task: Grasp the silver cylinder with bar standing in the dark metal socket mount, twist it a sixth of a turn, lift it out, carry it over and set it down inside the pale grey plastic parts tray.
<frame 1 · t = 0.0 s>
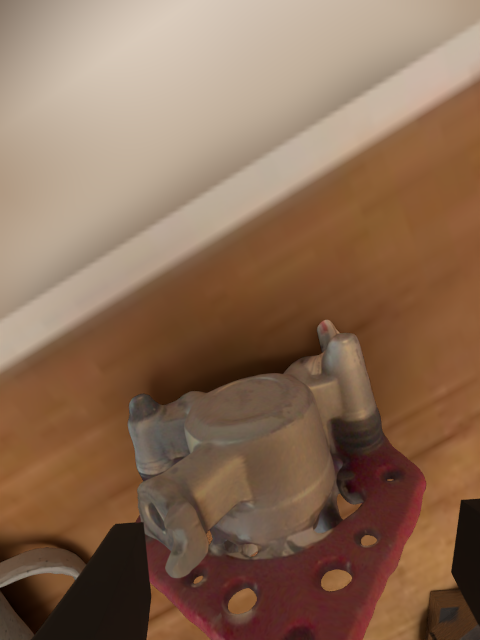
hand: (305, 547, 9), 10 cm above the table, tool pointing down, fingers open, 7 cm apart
brake caliper: (257, 426, 19), on the table
ceramic mug: (2, 592, 21), on the table
stud mount: (474, 627, 23), on the table
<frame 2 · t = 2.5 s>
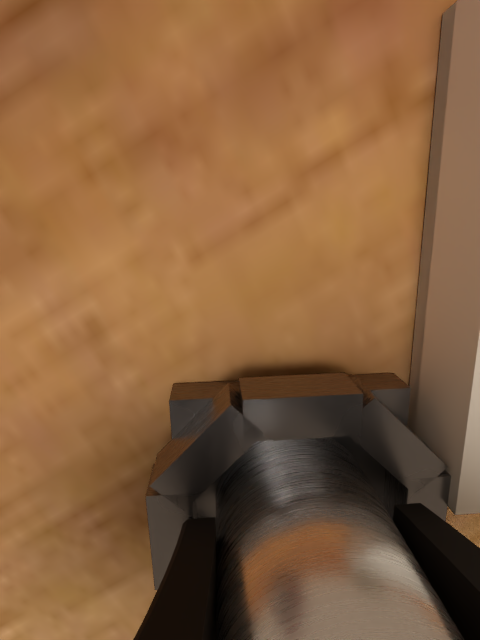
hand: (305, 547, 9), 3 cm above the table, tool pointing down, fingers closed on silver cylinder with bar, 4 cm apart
stud mount: (284, 474, 11), on the table
silver cylinder with bar: (291, 498, 10), point 1 cm above the table, touching gripper, stud mount
when the fingers open (4 cm above the table, at t = 6.3 s): silver cylinder with bar drops 2 cm, resting on bin.
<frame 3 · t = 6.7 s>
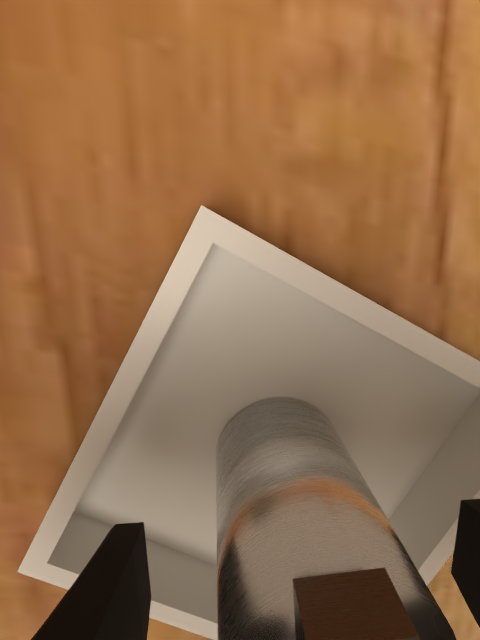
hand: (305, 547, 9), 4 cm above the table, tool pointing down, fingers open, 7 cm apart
bin: (275, 440, 13), on the table
silver cylinder with bar: (277, 453, 13), resting on bin
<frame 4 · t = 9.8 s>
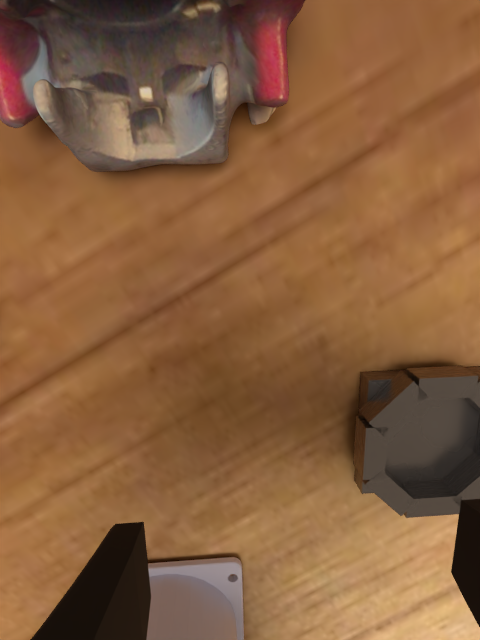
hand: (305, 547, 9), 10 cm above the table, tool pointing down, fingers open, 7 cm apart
brake caliper: (147, 42, 15), on the table
stud mount: (415, 425, 19), on the table
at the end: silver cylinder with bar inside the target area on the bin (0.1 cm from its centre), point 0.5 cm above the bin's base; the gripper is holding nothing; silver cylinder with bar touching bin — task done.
